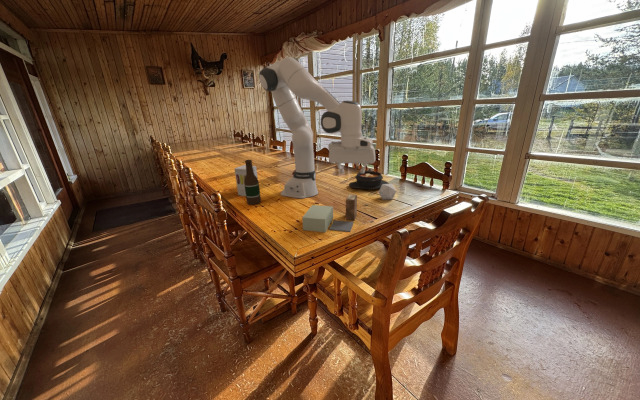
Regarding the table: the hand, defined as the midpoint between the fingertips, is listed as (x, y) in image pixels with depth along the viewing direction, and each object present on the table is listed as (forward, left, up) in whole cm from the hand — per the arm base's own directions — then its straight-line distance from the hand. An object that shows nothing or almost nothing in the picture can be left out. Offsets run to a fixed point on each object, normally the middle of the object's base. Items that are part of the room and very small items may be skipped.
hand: (351, 172), depth 114 cm
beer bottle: (-56, +7, -21) cm, 60 cm away
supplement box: (-67, +20, -21) cm, 73 cm away
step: (-13, -11, -21) cm, 27 cm away
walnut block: (0, -1, -21) cm, 21 cm away
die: (+15, +27, -21) cm, 38 cm away
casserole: (+3, +46, -22) cm, 51 cm away
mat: (-2, -11, -21) cm, 24 cm away
